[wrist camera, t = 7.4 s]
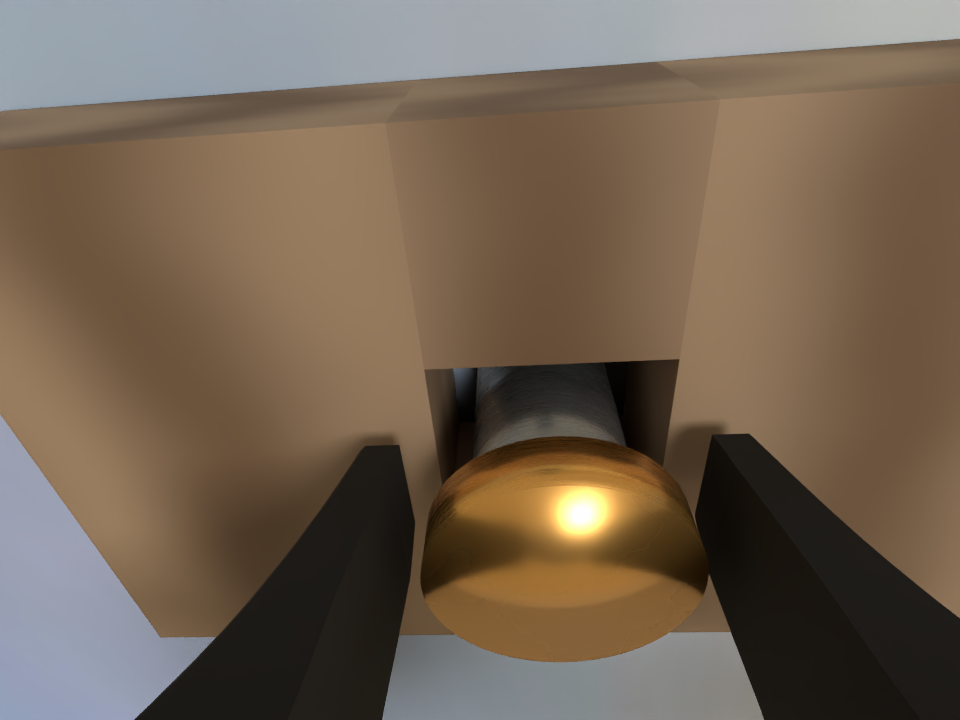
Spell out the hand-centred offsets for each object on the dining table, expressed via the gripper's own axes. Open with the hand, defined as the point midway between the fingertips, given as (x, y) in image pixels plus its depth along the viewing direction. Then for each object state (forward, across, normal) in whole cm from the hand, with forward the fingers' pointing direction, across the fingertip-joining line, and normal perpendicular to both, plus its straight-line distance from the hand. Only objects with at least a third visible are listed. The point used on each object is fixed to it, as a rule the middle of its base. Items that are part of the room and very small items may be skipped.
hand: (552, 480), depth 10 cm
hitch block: (+4, 0, 0) cm, 4 cm away
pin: (+4, 0, 0) cm, 4 cm away
